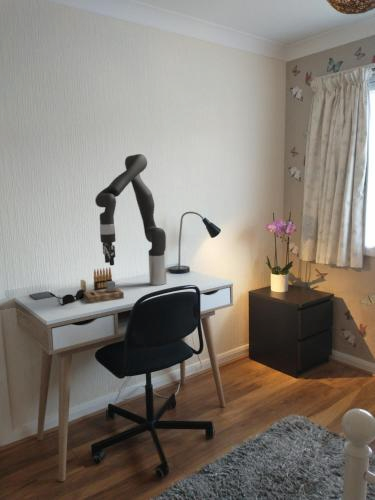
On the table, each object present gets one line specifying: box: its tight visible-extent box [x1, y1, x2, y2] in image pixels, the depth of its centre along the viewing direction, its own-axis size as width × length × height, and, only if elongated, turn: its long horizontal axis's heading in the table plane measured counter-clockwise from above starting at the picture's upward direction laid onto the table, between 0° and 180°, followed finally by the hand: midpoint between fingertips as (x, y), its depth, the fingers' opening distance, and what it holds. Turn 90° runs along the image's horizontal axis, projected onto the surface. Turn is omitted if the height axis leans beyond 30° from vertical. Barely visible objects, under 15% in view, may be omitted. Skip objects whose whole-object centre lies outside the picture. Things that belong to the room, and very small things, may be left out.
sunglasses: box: [49, 288, 84, 307], centre depth 208 cm, size 17×14×5 cm
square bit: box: [106, 280, 116, 293], centre depth 212 cm, size 4×4×8 cm
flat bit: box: [80, 279, 87, 292], centre depth 216 cm, size 2×4×8 cm, turn 30°
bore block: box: [83, 287, 125, 304], centre depth 210 cm, size 18×12×3 cm, turn 117°
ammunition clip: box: [93, 267, 113, 291], centre depth 229 cm, size 11×2×12 cm, turn 122°
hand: (109, 263), depth 210 cm, fingers open, 8 cm apart
